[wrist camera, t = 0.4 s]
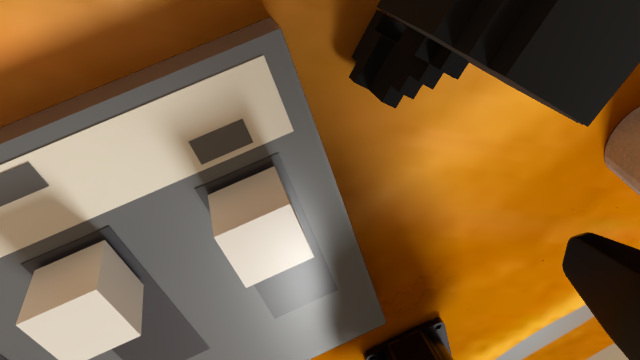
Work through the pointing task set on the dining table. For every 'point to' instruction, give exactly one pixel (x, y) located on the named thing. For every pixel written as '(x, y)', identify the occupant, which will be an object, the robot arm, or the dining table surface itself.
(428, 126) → the dining table surface
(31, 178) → the switch bank
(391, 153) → the dining table surface
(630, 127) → the house plant
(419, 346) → the robot arm
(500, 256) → the dining table surface
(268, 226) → the tab
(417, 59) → the security camera
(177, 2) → the dining table surface
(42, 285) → the tab
